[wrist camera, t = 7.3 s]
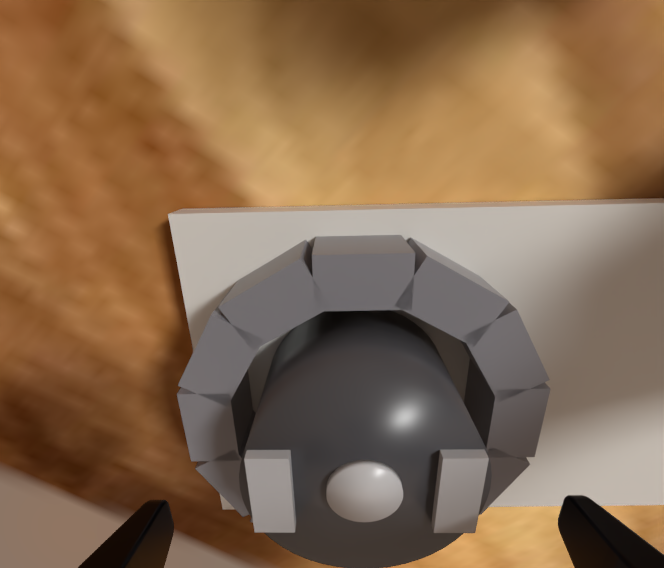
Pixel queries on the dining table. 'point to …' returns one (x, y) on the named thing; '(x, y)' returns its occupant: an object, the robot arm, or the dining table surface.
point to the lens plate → (549, 289)
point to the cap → (362, 445)
